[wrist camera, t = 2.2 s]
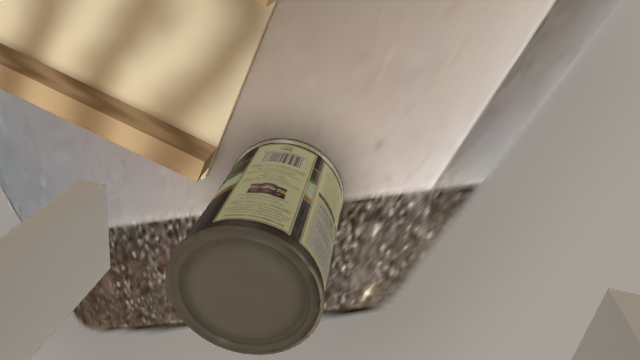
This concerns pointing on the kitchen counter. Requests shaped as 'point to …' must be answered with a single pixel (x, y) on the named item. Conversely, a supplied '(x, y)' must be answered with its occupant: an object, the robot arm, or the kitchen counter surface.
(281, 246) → the coffee can
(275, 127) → the kitchen counter surface
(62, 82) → the cradle
